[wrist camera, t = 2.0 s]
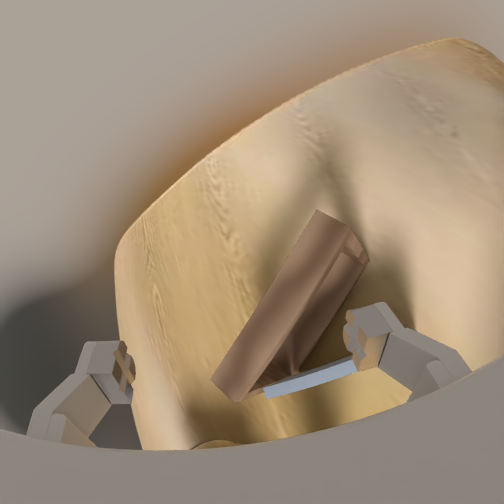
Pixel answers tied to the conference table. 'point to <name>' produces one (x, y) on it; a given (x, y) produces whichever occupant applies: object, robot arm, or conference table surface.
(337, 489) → the robot arm
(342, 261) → the brown wooden frame
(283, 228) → the conference table surface
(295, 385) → the door
